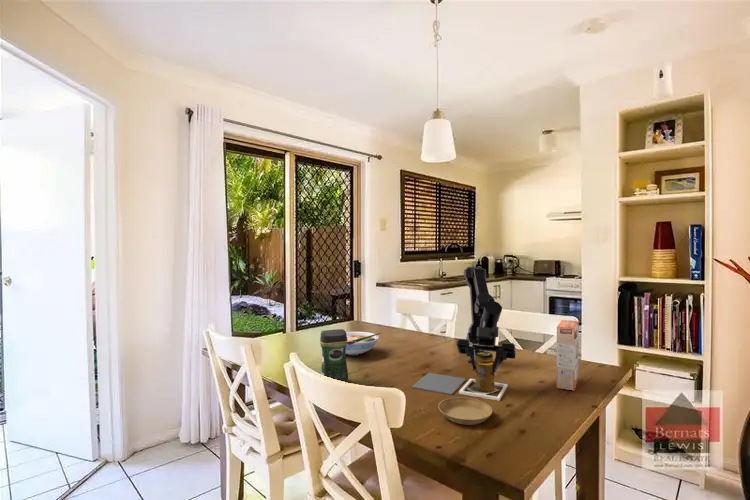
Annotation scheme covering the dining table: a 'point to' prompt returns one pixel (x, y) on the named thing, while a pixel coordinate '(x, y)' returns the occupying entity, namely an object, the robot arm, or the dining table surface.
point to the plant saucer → (465, 410)
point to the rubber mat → (439, 383)
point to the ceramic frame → (482, 394)
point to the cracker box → (567, 354)
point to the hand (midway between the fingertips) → (483, 371)
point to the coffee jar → (334, 354)
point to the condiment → (484, 374)
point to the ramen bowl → (360, 342)
